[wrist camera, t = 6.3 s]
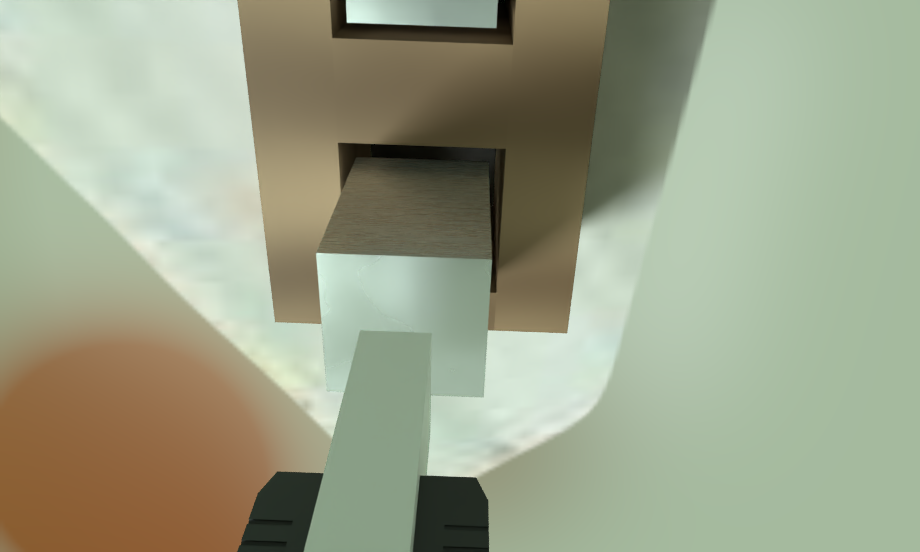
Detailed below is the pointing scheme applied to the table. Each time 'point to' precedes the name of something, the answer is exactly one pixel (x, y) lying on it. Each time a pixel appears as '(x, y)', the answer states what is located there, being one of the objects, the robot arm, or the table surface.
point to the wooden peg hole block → (428, 132)
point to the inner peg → (424, 12)
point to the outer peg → (410, 266)
